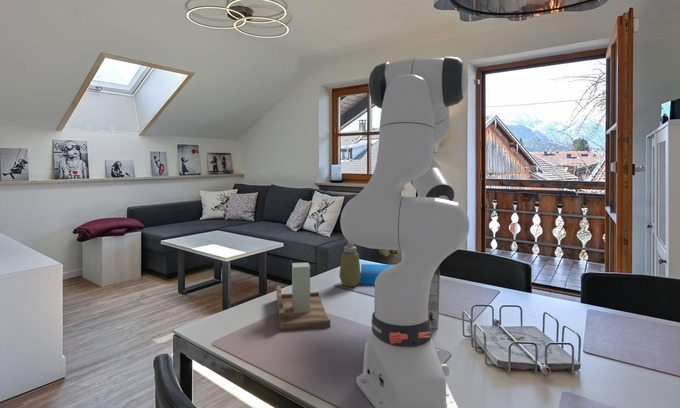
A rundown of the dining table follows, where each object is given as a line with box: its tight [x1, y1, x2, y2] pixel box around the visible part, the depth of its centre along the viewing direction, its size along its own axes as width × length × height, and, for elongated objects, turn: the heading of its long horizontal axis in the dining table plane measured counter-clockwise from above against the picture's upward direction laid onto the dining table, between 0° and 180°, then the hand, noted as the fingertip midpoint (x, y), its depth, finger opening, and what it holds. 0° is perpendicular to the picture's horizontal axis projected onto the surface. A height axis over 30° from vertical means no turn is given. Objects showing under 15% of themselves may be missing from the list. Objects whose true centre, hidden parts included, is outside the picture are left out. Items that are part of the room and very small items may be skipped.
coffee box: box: [428, 265, 441, 329], centre depth 115 cm, size 9×6×16 cm
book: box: [360, 263, 394, 285], centre depth 158 cm, size 17×4×25 cm
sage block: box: [291, 262, 311, 313], centre depth 122 cm, size 5×5×14 cm
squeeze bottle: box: [338, 241, 361, 288], centre depth 149 cm, size 8×8×18 cm
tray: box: [276, 284, 331, 332], centre depth 123 cm, size 25×14×5 cm, turn 11°
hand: (360, 216), depth 121 cm, fingers open, 8 cm apart
